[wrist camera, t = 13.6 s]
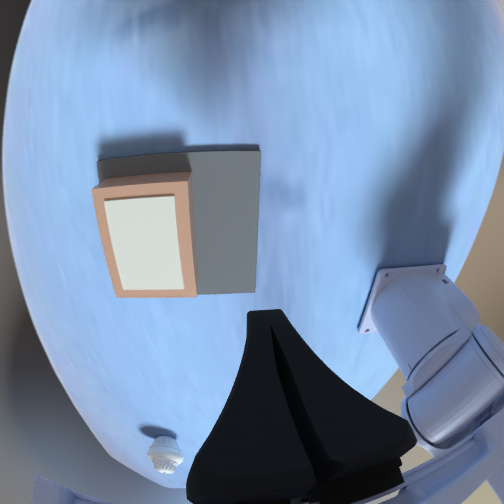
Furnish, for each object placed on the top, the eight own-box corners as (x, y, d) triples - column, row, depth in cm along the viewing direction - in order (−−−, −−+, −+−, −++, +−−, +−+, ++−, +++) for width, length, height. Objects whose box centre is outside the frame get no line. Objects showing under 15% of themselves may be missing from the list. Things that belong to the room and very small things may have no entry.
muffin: (141, 434, 35) (138, 468, 29) (169, 430, 35) (167, 468, 29) (163, 446, 38) (162, 478, 32) (190, 442, 38) (191, 477, 32)
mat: (260, 150, 17) (260, 151, 17) (254, 289, 22) (255, 292, 22) (98, 160, 16) (96, 161, 15) (124, 292, 21) (123, 295, 21)
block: (187, 181, 14) (90, 189, 14) (196, 298, 18) (115, 298, 18) (192, 171, 17) (106, 178, 16) (198, 276, 21) (125, 277, 20)
